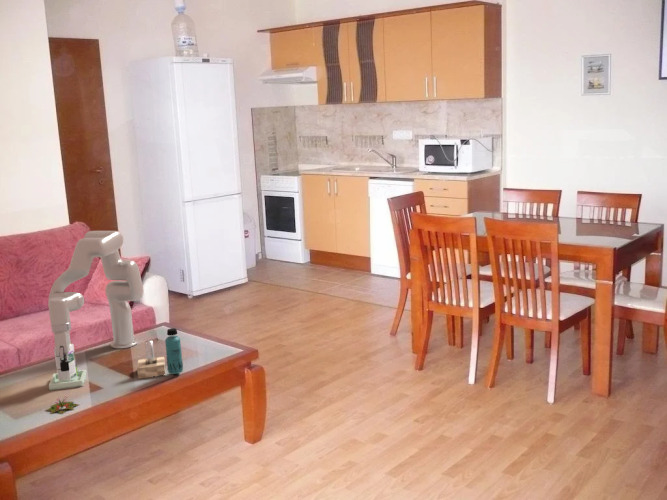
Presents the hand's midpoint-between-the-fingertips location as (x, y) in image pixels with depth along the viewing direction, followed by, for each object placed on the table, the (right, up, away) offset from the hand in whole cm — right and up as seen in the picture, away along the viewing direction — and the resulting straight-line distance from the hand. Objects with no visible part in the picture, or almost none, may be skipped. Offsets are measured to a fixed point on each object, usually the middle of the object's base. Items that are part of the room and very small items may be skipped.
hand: (66, 367), depth 289 cm
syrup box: (0, -5, +1) cm, 5 cm away
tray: (0, -7, +1) cm, 7 cm away
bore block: (+33, -4, +8) cm, 35 cm away
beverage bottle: (+44, -4, +5) cm, 45 cm away
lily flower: (+8, -12, -24) cm, 28 cm away
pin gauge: (+33, -4, +8) cm, 35 cm away
